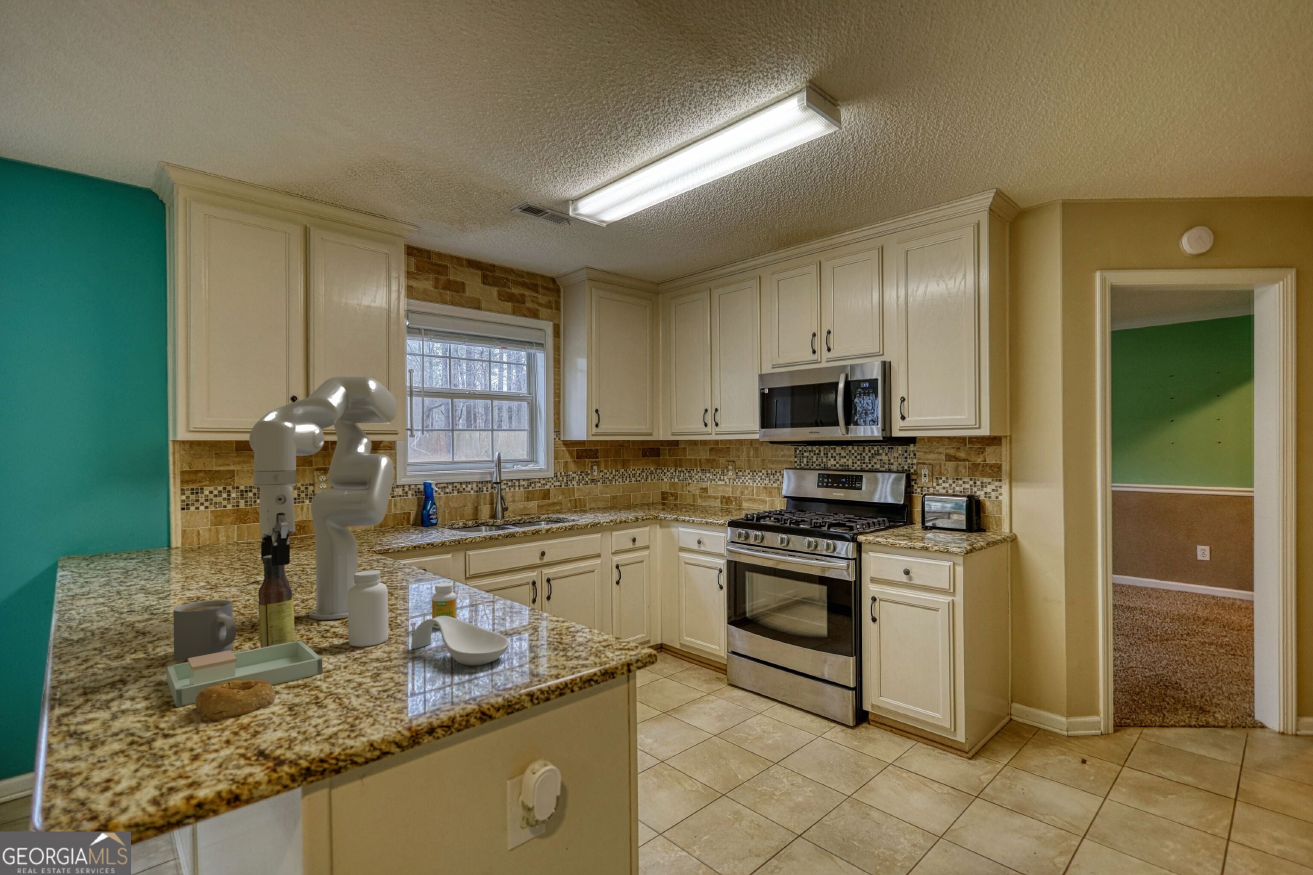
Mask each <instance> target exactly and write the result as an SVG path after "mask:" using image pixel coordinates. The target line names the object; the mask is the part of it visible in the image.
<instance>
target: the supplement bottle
mask: <svg viewBox="0 0 1313 875" xmlns="http://www.w3.org/2000/svg"><path fill="white" fill-rule="evenodd" d="M453 590H454V584H453V583H452V582H441V583H436V584H435V585H434V592H435V593H434V594H432V597H431V617H432V618H431V619H434V618H436V617H438V616H449V617H453V618H456V619H457V594H456V593H455V592H454V591H453ZM433 628H434V629H438V630H440V628H439V626H438V625H437V624H434V625H433V626H432V629H433Z"/></svg>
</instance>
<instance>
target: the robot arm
mask: <svg viewBox="0 0 1313 875" xmlns="http://www.w3.org/2000/svg"><path fill="white" fill-rule="evenodd" d="M397 413H398V405H397V401H396V398H395V396H394V395H393V394H392V393H391V391H390V390H388V389H387V388H386V386H384V385H383V384H382V383H381V382H380V381H378V380H376V379H375V378H373V377H370V376H336V377H331V378H327V379H326V380H324V382H323V383H321V384H320V385H319V386H318V387H317V388H316V389H315V390H314V391H313V392H312V393H311V394H310V395H308V397H306V398H303V399H299V400H297V401H294V402H291V403H289V404H286V405H285V404H284V405H283V406H279V407H277V408H275V409H273V410H271V411H269V412H267V413H266V414H265V415H263V416H262V417H260V419H259V420H258V421H257V422H256V423H255V424H254V425H253V427H252V428H251V431H250V433H249V438H248V439H249V440H248V441H249V445H250V448H251V450H252V451H253V452H254V453H253V456H254V458H253V463H254V464H253V465H254V466H253V488H255V489H256V488H259V506H258V508H259V509H258V510H259V516H258V517H259V519H258V520H259V522H258V524H259V531H260V532H261V541H260V559H261V561H262V560H263V557H264V556H268V555H271V565H272V566H279V565H284V566H285V565H286V566H287V565H289V564H290V563H291V557H290V556H291V543H290V535H293V534H294V533H295V532H296V518H295V502H294V501H295V500H294V490H293V487H296V486H297V456H298V457H301V456H302V457H304V456H305V457H306V456H312V455H315V454H317V453H318V452H319V451H320V450H321V449H322V448H323V446H324V444H325V435H324V431H323V429H327V428H330V427H332V426H333V427H334V431H335V434H336V438H337V441H336V446H335V449H334V452H333V455H332V459H331V461H330V462H331V463H330V465H329V469H328V474H327V480H328V483H329V485H330V486H331V487H332V488H331V489H325V490H322V491H319V492H318V493H316V494H315V495H314V496H313V498H312V499H311V503H310V513H311V517H312V518H311V519H312V522H313V523H312V524H313V526H314V535H315V592H316V593H315V595H316V596H315V598H316V599H315V600H316V607H315V608H313V609H311V611H309V615H308V616H309V618H310V619H312V620H316V621H317V620H318V621H319V620H320V621H327V620H328V621H329V620H331V621H332V620H340V619H345V618H348V591H349V589H350V588H351V587H353V586H355V585H356V584H355V583H354V582H355V581H354V574H355V573H358V572H359V564H358V563H359V562H358V560H359V559H358V554H359V552H358V551H359V549H358V548H359V545H358V541H357V538H356V536H355V535H354V533H353V532H352V531H351V529H350V527H371V526H372V527H373V526H377V525H379V524H381V523H382V522H383V521H384V519H385V517H386V513H387V510H388V505H389V502H390V498H391V494H392V488H393V485H394V484H393V483H394V480H395V478H394V477H395V468H394V462H393V460H392V459H391V457H389V456H388V455H386V454H382V453H371V449H372V441H371V440H370V437H369V436H368V435H367V434H366V432H365V431H364V430H363V429H362V428H361V427H360V426H359V424H386V423H390V422H392V421H394V419H395V418H396V416H397Z"/></svg>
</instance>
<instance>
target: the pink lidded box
mask: <svg viewBox="0 0 1313 875" xmlns="http://www.w3.org/2000/svg"><path fill="white" fill-rule="evenodd" d="M233 653H234V652H233V650H232V651H231V650H229V651H223V652H218V653H213V654H208V655H202V656H197V657H192V658H188V660H187V662H188V663H189V684H190V686H191V685H196V684H200V683H205V682H210V681H214V680H219V679H224V678H228V677H233V676H235V662H237V658H236V657H235V655H234V654H233Z"/></svg>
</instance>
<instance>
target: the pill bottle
mask: <svg viewBox="0 0 1313 875" xmlns="http://www.w3.org/2000/svg"><path fill="white" fill-rule="evenodd" d="M381 577H382V576H381V571H380V570H377V569H376V570H364V571H358V573H355V574H354V581H355V582H354V583H355V584H356V585H355V586H353V587H351V588H350V589H349V591H348V617H347V618H348V619H347V627H348V629H347V630H348V632H347V633H348V644H349V645H350V646H352V647H360V648H361V647H362V648H364V647H371V646H376V645H379V644H382V643H385V642H387V640H388V638H389V597H388V596H389V594H388V592H389V589H388V587H387V585H386V584H385V583H383V582H381V581H382V579H381Z"/></svg>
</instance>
